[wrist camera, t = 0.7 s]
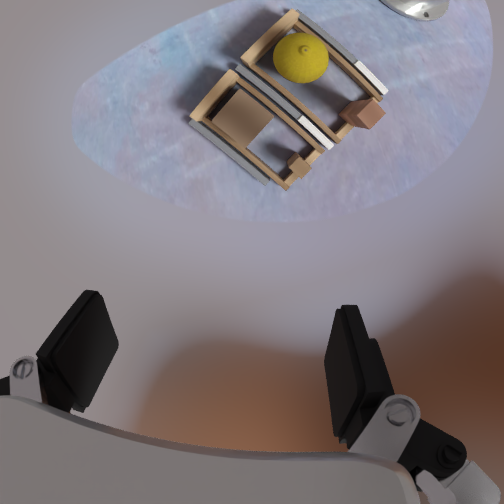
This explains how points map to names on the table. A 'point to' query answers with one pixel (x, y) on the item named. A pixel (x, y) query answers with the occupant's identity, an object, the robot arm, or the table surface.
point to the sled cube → (294, 162)
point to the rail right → (230, 151)
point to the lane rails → (336, 47)
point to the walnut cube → (242, 118)
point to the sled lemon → (355, 111)
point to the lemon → (300, 57)
